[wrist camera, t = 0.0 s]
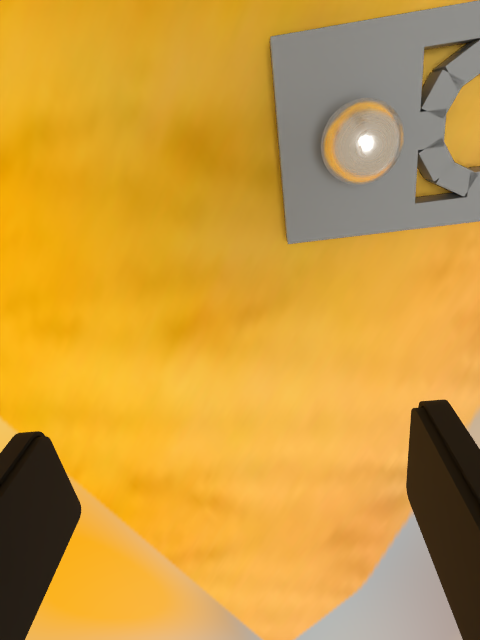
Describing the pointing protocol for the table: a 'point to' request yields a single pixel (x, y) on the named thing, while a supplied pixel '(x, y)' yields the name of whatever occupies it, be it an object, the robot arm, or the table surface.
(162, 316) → the table surface
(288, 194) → the hole board
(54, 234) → the table surface
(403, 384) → the table surface
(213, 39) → the table surface
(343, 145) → the steel ball
